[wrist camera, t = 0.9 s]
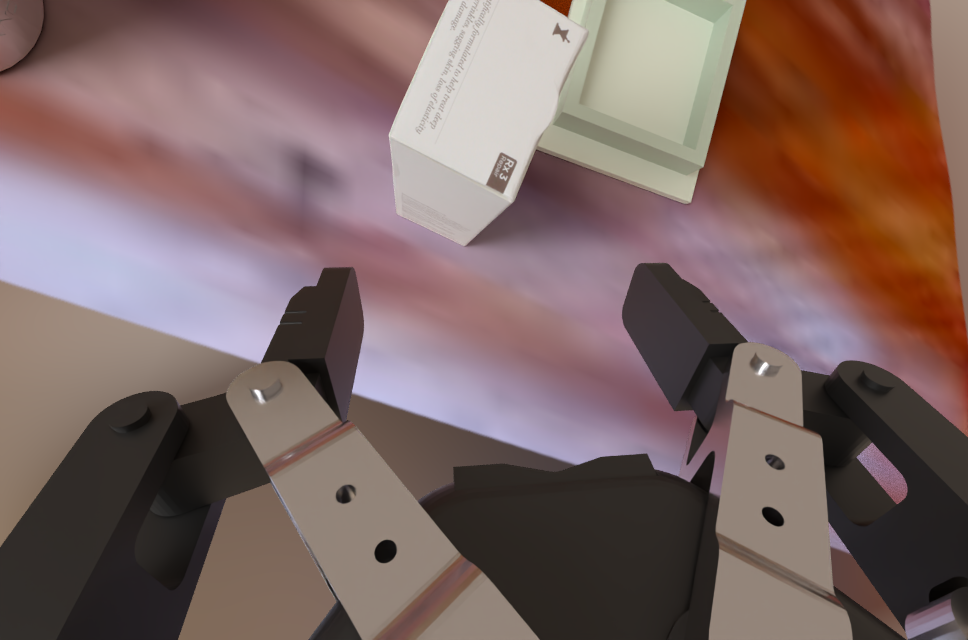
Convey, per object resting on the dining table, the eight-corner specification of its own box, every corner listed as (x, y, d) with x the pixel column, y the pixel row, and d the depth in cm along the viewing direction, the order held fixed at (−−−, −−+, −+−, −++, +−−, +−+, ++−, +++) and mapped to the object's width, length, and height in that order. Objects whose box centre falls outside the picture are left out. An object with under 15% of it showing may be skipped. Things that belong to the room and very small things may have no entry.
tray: (531, 147, 32) (542, 133, 29) (590, -66, 32) (605, -99, 30) (685, 204, 34) (708, 195, 31) (737, 4, 35) (763, -20, 32)
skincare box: (439, 119, 30) (466, -64, 16) (510, 157, 31) (598, 18, 17) (393, 220, 30) (377, 128, 15) (467, 255, 31) (519, 200, 16)
